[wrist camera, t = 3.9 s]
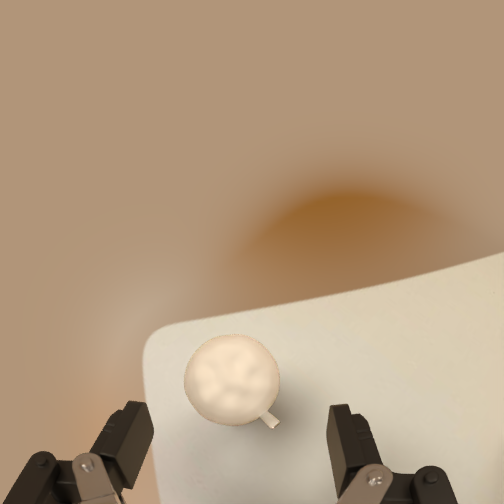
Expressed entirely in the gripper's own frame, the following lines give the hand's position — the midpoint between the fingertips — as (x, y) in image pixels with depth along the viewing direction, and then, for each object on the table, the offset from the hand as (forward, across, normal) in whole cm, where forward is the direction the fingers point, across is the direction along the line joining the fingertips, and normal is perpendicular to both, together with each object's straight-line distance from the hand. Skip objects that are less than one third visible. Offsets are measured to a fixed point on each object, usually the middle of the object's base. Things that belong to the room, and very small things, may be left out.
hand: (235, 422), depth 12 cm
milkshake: (+8, 0, +5) cm, 9 cm away
